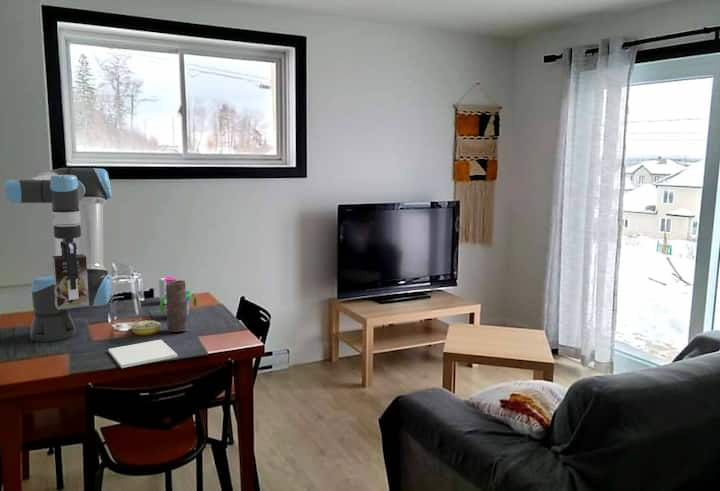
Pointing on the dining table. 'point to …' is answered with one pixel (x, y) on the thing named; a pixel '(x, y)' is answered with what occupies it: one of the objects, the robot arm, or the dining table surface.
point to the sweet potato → (176, 306)
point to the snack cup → (188, 297)
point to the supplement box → (164, 287)
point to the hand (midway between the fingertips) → (71, 296)
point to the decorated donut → (146, 327)
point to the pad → (142, 353)
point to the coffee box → (62, 284)
